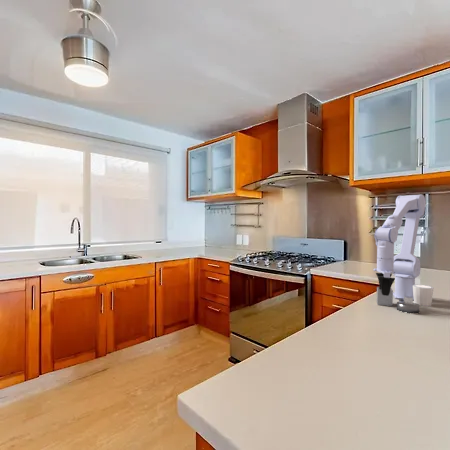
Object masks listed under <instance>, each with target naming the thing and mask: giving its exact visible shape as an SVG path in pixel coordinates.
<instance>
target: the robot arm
mask: <svg viewBox="0 0 450 450" xmlns="http://www.w3.org/2000/svg"><path fill="white" fill-rule="evenodd" d="M426 201H427V200H426V197H425V196H424V194H422V193H421V194H420V193H419V194H409V195H401V194H400V195H398V196H397V197H396V199H395V209H394V211H393V213H392V214H391V215H389V216H387V218H386V219H385V221H384V222H383V224H382V226H381V227H378V228H376V229H375V231H374V240H375V246H376V268H373V272H375V274H376V277H377V280H378V284H379V286H378V287H381V291H382V295H386V296H389V293H390V289H392V286H393V284H394V292H393V298H395V299H398V300H399V298H403V299H404V296H410V297H412V298H413V301H414V295H413V285H416V278H418V277H419V276H420V275H421V260H420V259H419V258H418V257H417V256H416V255H414V254H415V249H416V244H417V243H416V242H417V236H418V228H419V223H420V218H422V217H423V216H424V215H425V212H426V211H425V210H426V204H427V202H426ZM403 218H405V223H404V229H403V235H402V240H401V245H400V250H399V251H400V252H399V253H397V254H396V255H395V243H396V241H397V240H398V236H399V230H400V229H401V227H402V225H403ZM392 274H393V276H394V277H392Z"/></svg>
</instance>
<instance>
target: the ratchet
mask: <svg viewBox="0 0 450 450" xmlns="http://www.w3.org/2000/svg"><path fill="white" fill-rule="evenodd" d="M420 306H421V305H419V304H416V303H414V300H413V298H412V297H410V296H404V299H403V298H399V299H398V301H397V302H396V310H397V311H398V310H399V311H398V312H400V311H402V312H401V313H404V312H407V313H406V314H410V313H418V314H420V313H419V312H420Z"/></svg>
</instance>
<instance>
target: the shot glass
mask: <svg viewBox="0 0 450 450" xmlns="http://www.w3.org/2000/svg"><path fill="white" fill-rule="evenodd" d="M433 294H434V287H433V286H432V285H431V286H430V285H427V284H415V285H413V295H414V300H413V303H416V304H419V305H420V306H422V305H423V306H424V307H430V306H432V302H433V297H434V295H433Z"/></svg>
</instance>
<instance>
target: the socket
mask: <svg viewBox="0 0 450 450" xmlns="http://www.w3.org/2000/svg"><path fill="white" fill-rule="evenodd" d="M393 293H394V290H393V288H391V289H390V293H389V296H386V295H382V291H381V287H380V286H376V304H377V306H383V305H385V306H384V307H392V306H393V301H394V300H393V299H394V296H393Z"/></svg>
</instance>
